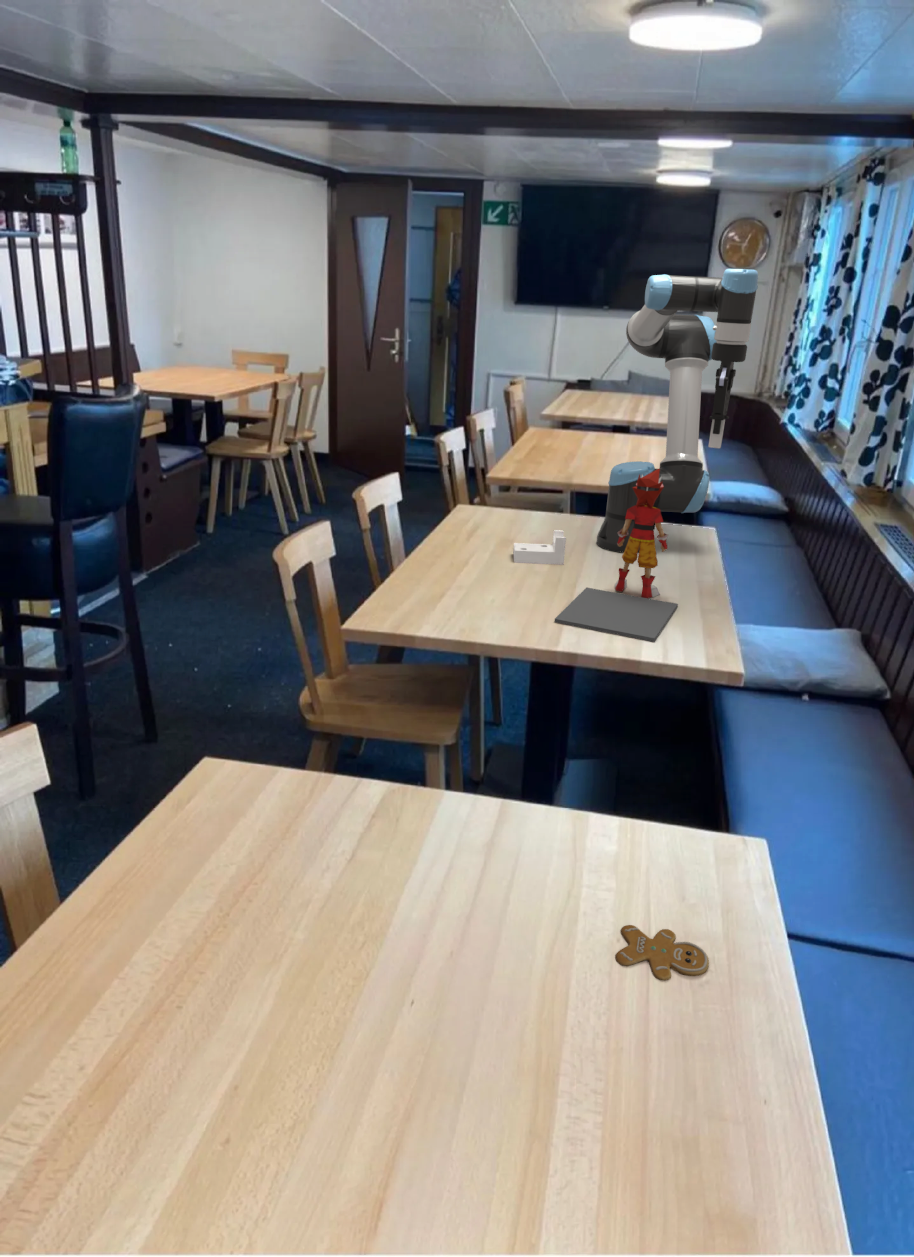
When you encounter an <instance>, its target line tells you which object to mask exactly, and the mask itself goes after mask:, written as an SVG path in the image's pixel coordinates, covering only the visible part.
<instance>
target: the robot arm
mask: <svg viewBox="0 0 914 1257" xmlns="http://www.w3.org/2000/svg"><path fill="white" fill-rule="evenodd" d="M758 280H759V273H758V270H756V269H749V268H748V269H745V268H744V269H743V268H726V269H725V270H724V271H723V275H722V277H715V276H713V277H712V276H710V277H708V276H692V275H691V276H690V275H689V276H688V275H687V276H685V275H670V274H665V273H664V274H657V275H656V274H655V275H653V274H652V275H651V276H649V278H648V279H647V283H646V285H645V286H646V287H645V292H644V305H643V306H642V308H640V310H638V311H636V312H635V313H634V314H633V315H632V316H631V317H630V318H629V320H628V322H627V325H626V328H625V329H626V330H625V332H626V333H625V335H626V338H627V341H628V343H629V344H630V346H631V348H632V349H634V351H637V353H639V354H640V355H643V356H645V357H648V358H652V359H664V367H665V368H666V369H667V370H668V371H669V373H670V374H669V390H668V408H667V424H666V444H665V445H666V447H665V458H663V459H662V460H661V461H660V462H659V468H660V471H659V478H660V477H661V476H662V477H661V481H660V482H662V481H663V483H662V484H663V486H664V488H663V489H662V491H661V493H660V494H659V496H658V497H657V499H656V501H655V503H654V505H653V507H656V508H658V509H660V512H668V513H670V512H672V513H681V514H684V513H696V512H699V511H700V510H701V508H703V506H704V503H705V500H706V497H707V495H708V491H709V486H710V485H709V484H710V473H709V471H708V470H706V469H703V468H704V467H703V466H704V464H703V463H704V462H702V460H701V459H700V458H699V457H698V455H699V454H698V453H699V439H700V435H699V434H700V418H701V417H700V416H701V402H702V401H701V396H702V382H703V381H702V379H703V371H704V370H705V369H706V368H707V367H708V366H709V362H710V361H712V360H713V361H718V362H720V365H719V367H718V368H717V369H716V371H715V377H716V378H715V385H714V386H715V387H714V388H715V389H714V396H713V398H714V399H713V407H712V413H711V415H710V416H709V418H708V419H709V420H711V421H712V422H711V426H710V432H709V440H708V446H707V447H708V448H712V449H713V448H714V449H721V448H722V442H723V436H724V429H725V422H726V420H729V418H730V416H729V415H727V414H728V407H729V404H730V402H729V401H730V398H731V397H730V396H731V392H732V388H733V384H734V378H735V377H736V373H737V370H736V368H735V369H734V364H735V363H743V362H745V361H746V358H747V357H746V356H747V351H748V350H747V349H748V346H747V344H746V343H748V342H749V339H750V333H751V328H752V318H753V314H754V306H755V301H756V294H757V290H758V288H759V287H758V286H759V285H758ZM678 311H681V312H705V313H717V317H716V322H714V321H713V319H712V318H711V317H709V316H705V315H703V316H702V315H698V314H677V312H678ZM715 323H716V325H715ZM657 469H658V468H655V465H654V463H652V462H649V461H638V460H637V461H629V462H628V461H627V462H621V463H618V464H616V465H614V466H613V467H612V468H611V471H610V475H609V480H608V489H607V490H608V492H607V502H606V507H605V508H606V510H605V517H604V520H603V521H602V523H601V526H600V529H599V530H598V533H597V536H596V545H597V546H598V547H600V548H602V549H605V550H608V551H612V552H618V553H624V551H625V548H626V546H627V543H628V540H629V537H630V535H631V532H632V530H633V527H634V522H635V521H634V520H633V519H632V521H631V524H630V526H629V528H628V533H629V534H628V535H627V536H626V537H625V538H624V542H623V545H622V546H620V547H619V546H618V545H617V543H618V540H619V535H618V533H617V532H619V531H620V530H621V529H622V528H623V527H624V524H625V520H626V519H625V517H626V513H627V509H629V508H631V507H633V506H635V505H636V504H637V500H638V498H637V496H636V494H635V492H634V490H633V488H632V487H636V486H637V485H636V484H637V480H638V477H639V474H640V477H642V475H643V477H644V476H646V475H648V474H650V473H652V472H653V471H655V470H657ZM641 505H643V504H641ZM639 550H640V548H639ZM639 550H638V553H639Z"/></svg>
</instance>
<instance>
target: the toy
mask: <svg viewBox="0 0 914 1257" xmlns="http://www.w3.org/2000/svg"><path fill="white" fill-rule="evenodd" d="M656 469H657V470H655V471H653V472H652V473H650V474H648V475H646V476H644V477H643V475H642V477H640V474H639V477H638V480H637V484H636V485H637V486H636V487H632V488H633V490H634V492H635V494H636V496H637V498H638V500H637V504H636V505H635V506H633V507H631V508H629V509H627V513H626V517H625V519H626V520H625V524H624V527H623V528H622V529H621V530H620V531H619V532H617V533H618V535H619V540H618V543H617V545H618V546H619V547H620V546H622V545H623V542H624V538H625V537H626V536H627V535H628V534H629V533H628V528H629V526H630V524H631V521H632V519H633V520H634V521H635V522H634V527H633V530H632V532H631V535H630V537H629V540H628V543H627V546H626V548H625V551H624V552H622V556H621V558H622V561H623V562H624V564H623V568H622V567H619V568H618V573H619V574H618V579H617V581H616V582H615V583H614V589H615V591H616V592H620V593H622V592H623V591H624V590H625V589H626V588H627V586H628V582H627V579H626V578H627V576H628V574H629V572H630V571H631V570H630V569H629V568H630V564H631V565H634V563H635V562H637V565H638V568H644V574H643V575H640V578H641V580H642V581H641V582H642V588H641V594H640V597H643V598H649V599H652V598H653V597H656V596H660V590H659V589H658V587H657V586H656V585H653V582H654V580H655V578H656V576H655V575H652V574H651V573H652V569H655V568H657V567H658V566H659V565H658V564H659V563H658V558H657V550H656V539H657V540H658V542H659V543H660V549H661V553H663V552H665V551H666V550H668V544H667V538H668V537H669V536H668V535H669V534H668V533H665V532H664V528H663V527H662V523H663V522H664V519H663V516H662V511H660V509H658V508H656V507H653V505H654V503H655V501H656V499H657V497H658V496H659V494H660V493H661V491H662V489H663V488H664V486H663V484H662V483H663V481H662V482H660V481H661V477H662V476H661V477H660V478H659V471H660V467H659V468H656ZM641 504H643V505H641ZM655 529H656V531H657V532H658V534H657V535H656V539H655ZM639 548H640V550H639ZM638 550H639V552H638Z"/></svg>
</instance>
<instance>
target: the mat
mask: <svg viewBox="0 0 914 1257" xmlns="http://www.w3.org/2000/svg"><path fill="white" fill-rule="evenodd" d="M678 605H679V604H678V603H676V602H670V601H664V600H659V599H654V598H643V597H641V596H636V595H633V594H632V595H631V594H627V593H626V594H625V593H622V592H620V593H619V592H614V591H609V590H603V589H597V588H592V587H585V588H584V590H582V591H581V592H580V593H579V594H578V595H577V596H576V597H575V598H574V599H572V601H571V602H570V603H569V604H568V605H567V606H566V607H565V608H564V609H563V610H562V611H561V612H560V613H559V614H558V615H557V616H556V617H555V618H554V623H557V624H561V625H567V626H572V627H577V628H581V629H587V630H592V631H596V632H597V631H598V632H603V633H606V634H607V633H609V634H612V635H618V636H622V637H627V638H632V639H633V638H634V639H637V640H638V639H639V640H642V641H643V640H644V641H646V642H653V643H655V641H656V640H657V638H658V637H659V635H661V632H662V630H664V628H665V627H666V625H668V622H669V620H670V619H671V618H672V616H673V614H674V612H676V611H677V609H678Z"/></svg>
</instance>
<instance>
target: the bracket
mask: <svg viewBox="0 0 914 1257" xmlns="http://www.w3.org/2000/svg"><path fill="white" fill-rule="evenodd" d="M552 535H553V536H552V544H548V543H526V542H525V543H523V542H513V548H512V549H513V552H512V554H513V563H516V564H540V565H564V563H565V554H566V552H565V551H566V543H567V542H566V541H567V537H566V536H565V535H564V530H562V529H561V530H559V529H558V530H557V529H554V530H553V534H552Z"/></svg>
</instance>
